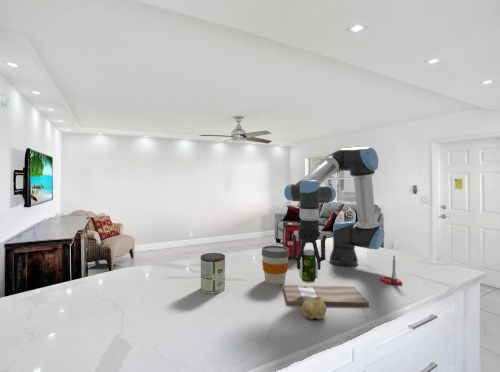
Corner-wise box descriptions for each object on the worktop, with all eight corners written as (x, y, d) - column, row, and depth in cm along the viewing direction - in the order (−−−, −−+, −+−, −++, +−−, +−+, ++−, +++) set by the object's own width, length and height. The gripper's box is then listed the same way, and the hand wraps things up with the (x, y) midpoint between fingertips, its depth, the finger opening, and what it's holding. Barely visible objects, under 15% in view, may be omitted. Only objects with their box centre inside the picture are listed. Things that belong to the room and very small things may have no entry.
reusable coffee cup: (292, 279, 136) (292, 247, 135) (283, 288, 124) (284, 253, 124) (267, 275, 141) (267, 244, 141) (256, 283, 130) (257, 250, 129)
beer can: (305, 277, 119) (306, 248, 119) (317, 280, 116) (318, 250, 115) (298, 281, 115) (299, 251, 115) (311, 284, 111) (311, 253, 111)
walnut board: (283, 288, 123) (283, 284, 123) (354, 290, 123) (354, 286, 123) (287, 304, 108) (287, 300, 107) (368, 306, 107) (369, 301, 107)
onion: (321, 325, 93) (321, 303, 93) (298, 318, 97) (298, 297, 97) (328, 315, 100) (329, 294, 99) (306, 309, 104) (307, 290, 104)
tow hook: (378, 278, 140) (384, 284, 130) (378, 251, 140) (384, 255, 131) (397, 279, 138) (404, 285, 129) (397, 252, 139) (404, 256, 130)
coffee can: (207, 283, 129) (207, 251, 128) (228, 286, 125) (229, 254, 125) (195, 291, 119) (195, 257, 119) (218, 295, 116) (218, 260, 115)
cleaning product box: (282, 252, 187) (283, 221, 186) (296, 252, 186) (297, 221, 186) (285, 259, 170) (286, 225, 170) (300, 259, 170) (301, 225, 170)
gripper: (286, 220, 111) (286, 280, 112) (335, 220, 111) (334, 281, 111) (285, 217, 119) (284, 274, 119) (330, 218, 118) (329, 274, 119)
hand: (308, 277), depth 115 cm, fingers closed on beer can, 5 cm apart
